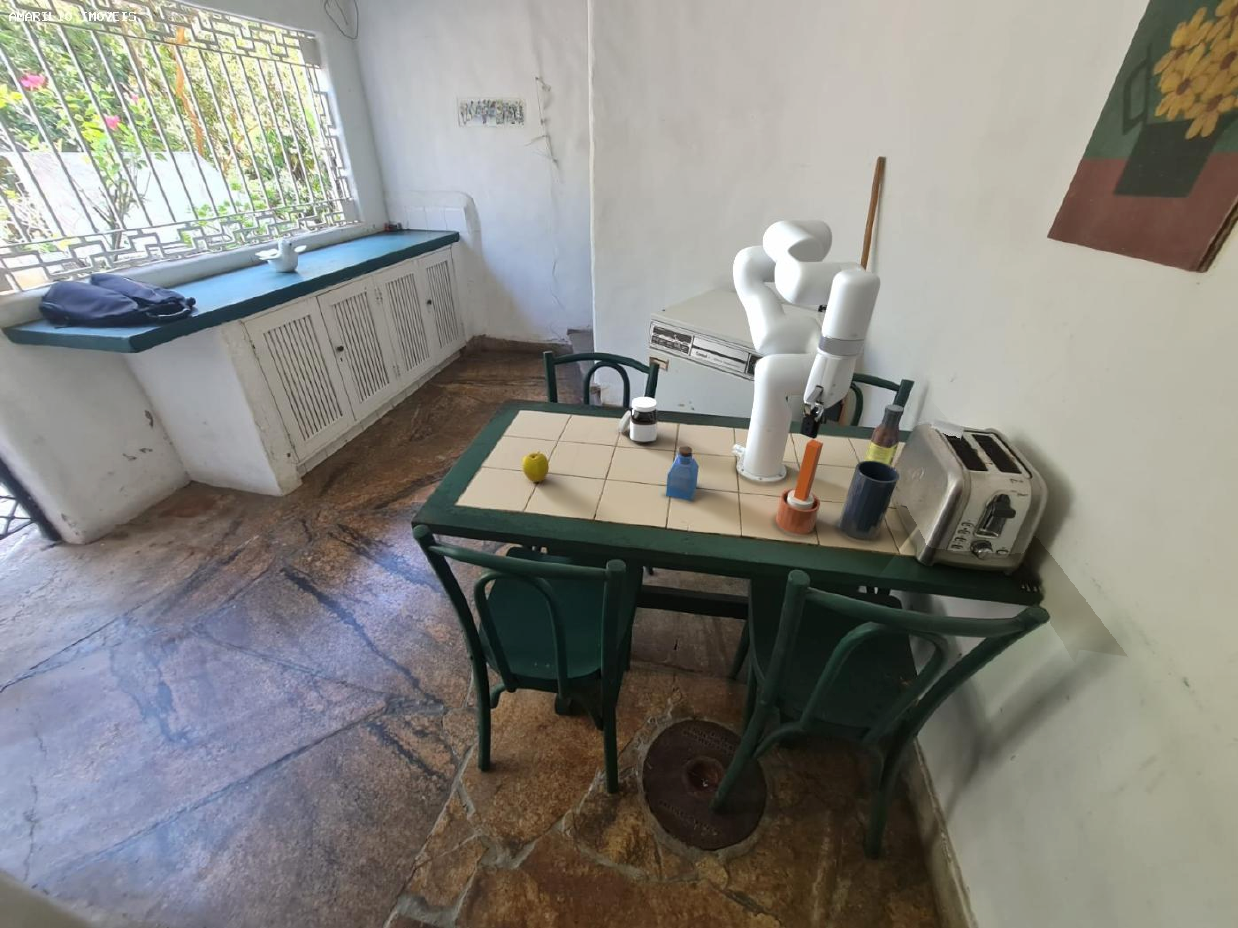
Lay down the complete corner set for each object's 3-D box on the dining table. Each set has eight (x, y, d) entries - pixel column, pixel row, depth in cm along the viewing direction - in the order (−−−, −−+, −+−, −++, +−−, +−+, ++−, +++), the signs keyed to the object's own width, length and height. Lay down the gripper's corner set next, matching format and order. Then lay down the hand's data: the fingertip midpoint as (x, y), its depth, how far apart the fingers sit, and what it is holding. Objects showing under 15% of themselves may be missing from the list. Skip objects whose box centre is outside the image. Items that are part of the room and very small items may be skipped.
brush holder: (768, 524, 115) (774, 499, 111) (786, 508, 120) (792, 484, 116) (802, 541, 110) (809, 516, 106) (819, 524, 115) (826, 499, 111)
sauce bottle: (888, 486, 128) (914, 415, 118) (862, 483, 129) (885, 413, 119) (882, 472, 134) (906, 403, 123) (857, 469, 135) (879, 401, 124)
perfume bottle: (696, 486, 127) (701, 445, 120) (691, 501, 122) (695, 458, 115) (672, 482, 129) (675, 440, 122) (665, 495, 124) (669, 453, 117)
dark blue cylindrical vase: (831, 530, 113) (849, 471, 105) (846, 514, 118) (865, 456, 110) (867, 548, 109) (890, 487, 100) (882, 531, 114) (905, 471, 105)
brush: (777, 521, 114) (796, 443, 103) (789, 511, 118) (808, 434, 107) (800, 533, 111) (821, 453, 100) (811, 522, 115) (833, 443, 104)
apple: (554, 476, 130) (552, 449, 126) (540, 489, 125) (538, 461, 121) (533, 469, 132) (530, 443, 128) (518, 482, 127) (515, 455, 123)
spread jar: (657, 447, 143) (659, 410, 136) (616, 447, 143) (617, 409, 136) (655, 427, 153) (657, 391, 146) (617, 426, 153) (617, 390, 146)
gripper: (841, 329, 100) (821, 408, 109) (798, 350, 89) (780, 436, 98) (880, 338, 95) (856, 419, 104) (840, 361, 85) (817, 450, 94)
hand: (819, 427), depth 101 cm, fingers open, 9 cm apart
